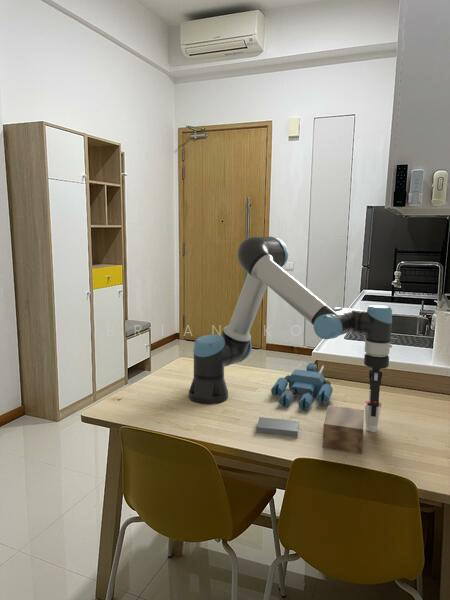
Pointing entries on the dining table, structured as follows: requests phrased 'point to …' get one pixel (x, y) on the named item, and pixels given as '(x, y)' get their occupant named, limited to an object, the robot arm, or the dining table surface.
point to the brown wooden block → (343, 429)
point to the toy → (303, 387)
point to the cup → (368, 427)
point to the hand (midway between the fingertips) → (372, 417)
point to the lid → (277, 427)
